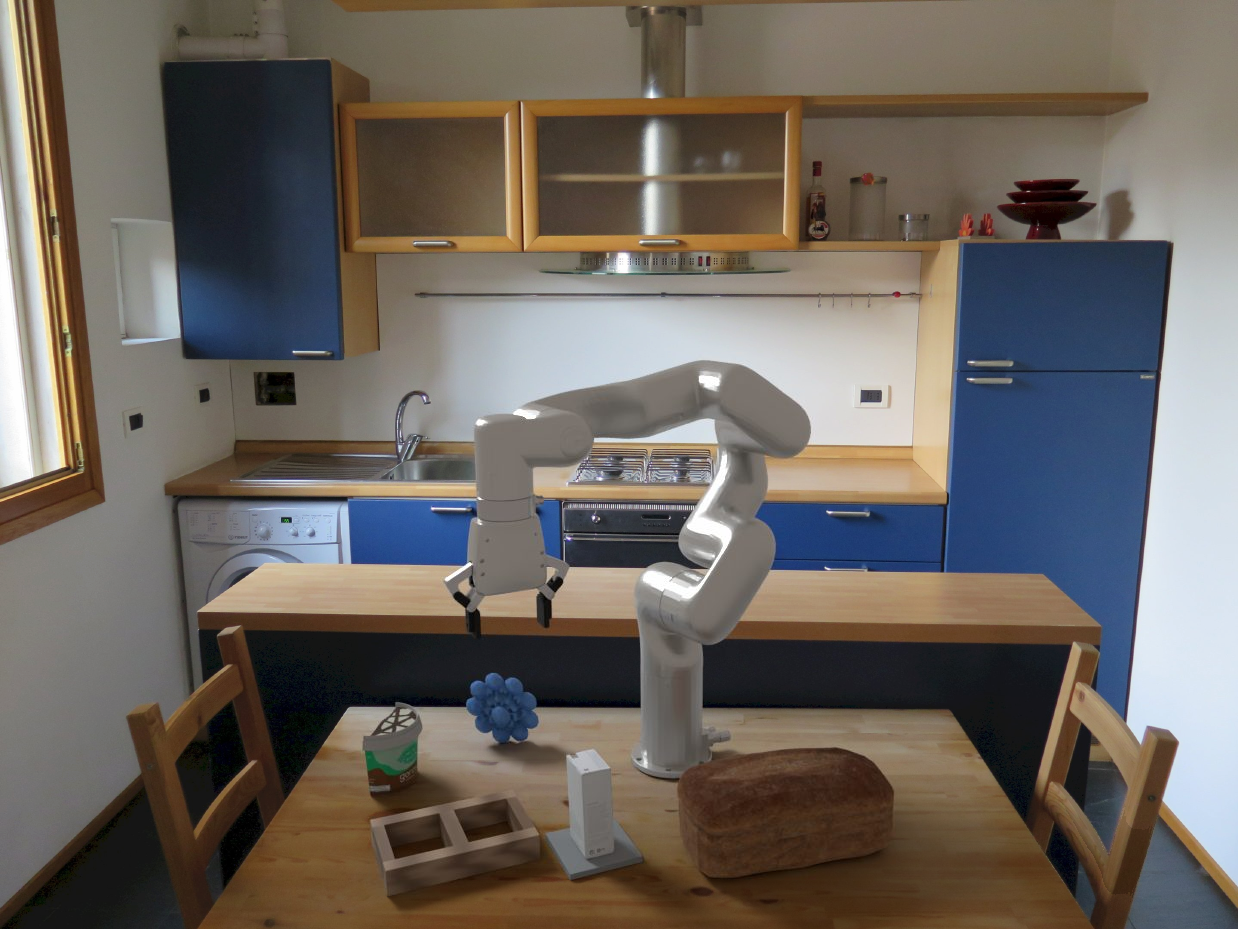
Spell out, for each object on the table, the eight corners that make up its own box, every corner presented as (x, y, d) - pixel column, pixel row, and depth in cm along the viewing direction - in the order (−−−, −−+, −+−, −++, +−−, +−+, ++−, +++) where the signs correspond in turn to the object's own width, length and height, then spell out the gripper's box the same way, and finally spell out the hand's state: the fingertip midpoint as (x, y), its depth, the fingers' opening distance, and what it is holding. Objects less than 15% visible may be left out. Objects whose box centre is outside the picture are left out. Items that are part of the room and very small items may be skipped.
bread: (666, 834, 136) (666, 751, 134) (854, 805, 143) (858, 726, 141) (699, 895, 123) (700, 805, 121) (905, 860, 130) (909, 774, 127)
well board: (513, 812, 142) (512, 789, 141) (540, 859, 131) (539, 835, 130) (371, 843, 135) (369, 820, 134) (387, 896, 123) (385, 871, 123)
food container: (405, 805, 144) (401, 741, 142) (365, 801, 145) (361, 737, 143) (437, 763, 156) (434, 703, 154) (400, 760, 157) (396, 700, 155)
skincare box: (615, 853, 131) (614, 767, 128) (583, 861, 129) (582, 775, 126) (598, 829, 136) (596, 746, 134) (567, 836, 134) (565, 753, 132)
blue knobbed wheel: (463, 755, 158) (460, 685, 156) (470, 736, 165) (467, 667, 162) (537, 755, 158) (535, 684, 156) (540, 735, 165) (538, 667, 162)
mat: (613, 822, 139) (613, 817, 139) (642, 861, 130) (642, 856, 130) (545, 838, 135) (545, 833, 135) (570, 880, 126) (570, 874, 126)
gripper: (556, 495, 139) (559, 612, 142) (434, 509, 132) (440, 631, 135) (576, 507, 132) (579, 629, 136) (449, 522, 125) (455, 651, 129)
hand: (509, 630), depth 136 cm, fingers open, 9 cm apart
